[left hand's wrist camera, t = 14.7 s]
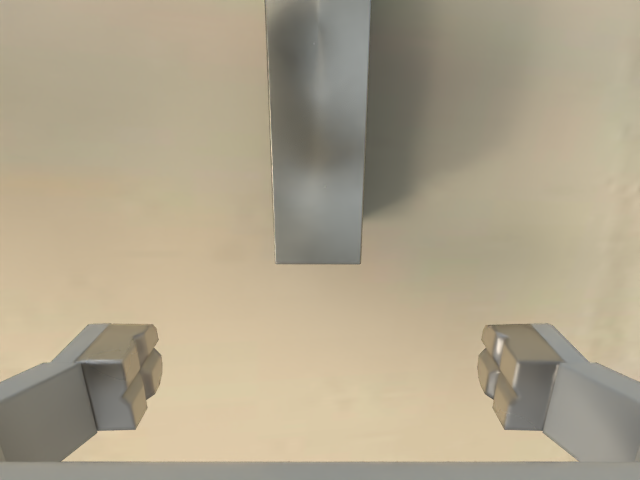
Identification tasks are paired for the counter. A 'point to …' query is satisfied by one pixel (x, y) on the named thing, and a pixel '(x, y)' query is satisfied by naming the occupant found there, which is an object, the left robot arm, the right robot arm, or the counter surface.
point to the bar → (318, 127)
